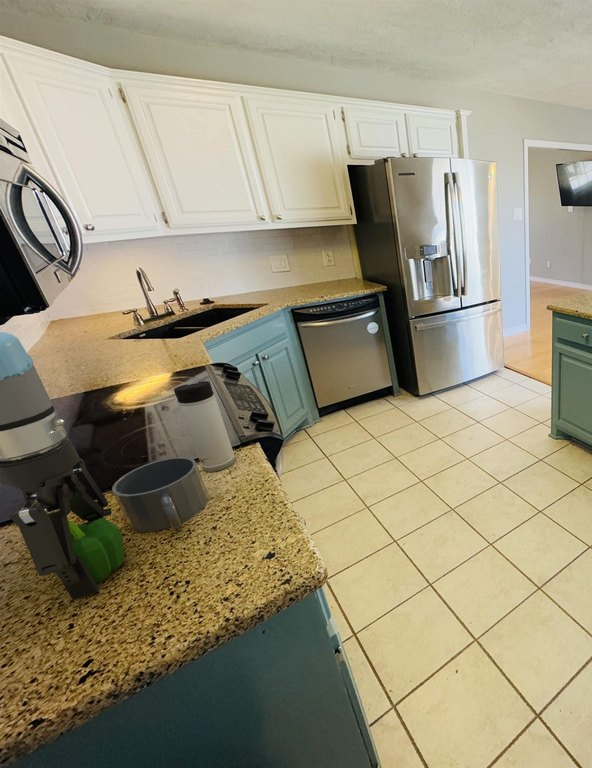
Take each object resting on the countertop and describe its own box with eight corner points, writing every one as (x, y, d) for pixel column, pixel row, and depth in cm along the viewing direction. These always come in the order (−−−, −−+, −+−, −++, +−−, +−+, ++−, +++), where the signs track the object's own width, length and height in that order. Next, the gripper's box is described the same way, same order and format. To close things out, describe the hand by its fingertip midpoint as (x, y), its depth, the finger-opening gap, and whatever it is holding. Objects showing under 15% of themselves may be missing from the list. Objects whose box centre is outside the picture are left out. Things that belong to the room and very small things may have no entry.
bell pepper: (141, 566, 65) (117, 517, 61) (70, 604, 59) (38, 552, 55) (123, 545, 69) (100, 497, 65) (55, 578, 63) (24, 527, 59)
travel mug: (203, 476, 88) (171, 392, 80) (202, 462, 93) (172, 381, 85) (237, 466, 91) (209, 384, 83) (234, 453, 96) (208, 375, 88)
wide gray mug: (126, 511, 78) (109, 476, 75) (201, 482, 86) (188, 450, 83) (136, 554, 68) (117, 516, 64) (220, 517, 76) (207, 482, 72)
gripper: (24, 482, 48) (103, 617, 56) (97, 411, 65) (148, 522, 74) (-70, 501, 45) (28, 641, 53) (33, 421, 62) (94, 536, 71)
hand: (98, 572), depth 64 cm, fingers closed on bell pepper, 8 cm apart
